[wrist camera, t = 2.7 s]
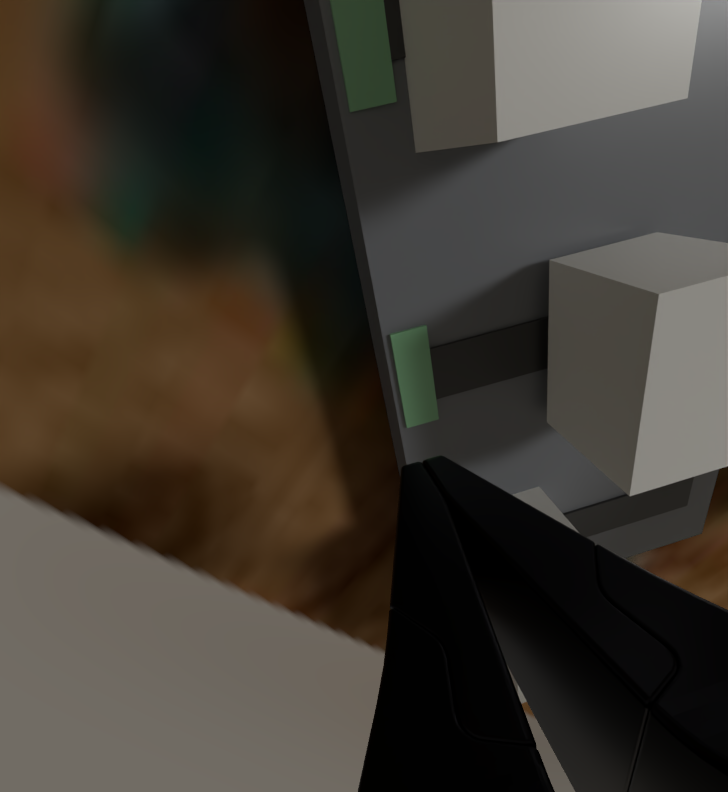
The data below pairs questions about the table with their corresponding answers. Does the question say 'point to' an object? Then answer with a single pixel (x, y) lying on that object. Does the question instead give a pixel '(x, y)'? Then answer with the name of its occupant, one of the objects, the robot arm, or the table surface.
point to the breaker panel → (517, 212)
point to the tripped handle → (641, 358)
